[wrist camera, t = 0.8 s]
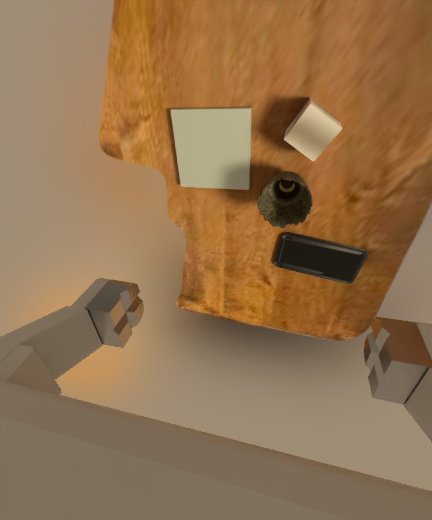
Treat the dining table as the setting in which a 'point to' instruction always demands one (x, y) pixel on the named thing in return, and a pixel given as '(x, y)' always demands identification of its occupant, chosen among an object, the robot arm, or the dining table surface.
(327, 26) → the dining table surface
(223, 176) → the sage board
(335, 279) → the phone
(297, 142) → the letter cube
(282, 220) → the cup
